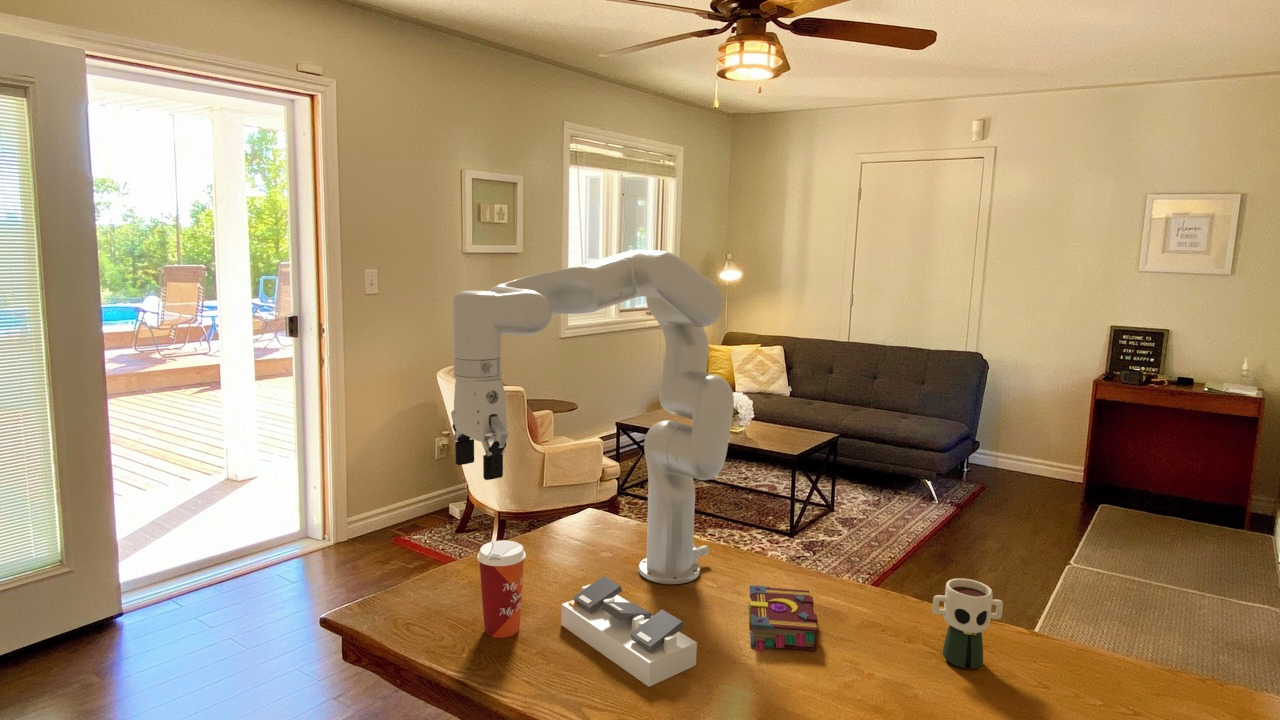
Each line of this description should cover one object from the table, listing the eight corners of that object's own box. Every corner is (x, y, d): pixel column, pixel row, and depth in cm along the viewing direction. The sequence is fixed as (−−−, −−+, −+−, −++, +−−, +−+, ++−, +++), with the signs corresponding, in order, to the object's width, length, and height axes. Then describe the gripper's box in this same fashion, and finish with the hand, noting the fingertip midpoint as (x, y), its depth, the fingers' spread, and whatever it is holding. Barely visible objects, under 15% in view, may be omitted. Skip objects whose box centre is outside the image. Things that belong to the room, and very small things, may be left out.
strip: (596, 602, 147) (597, 571, 146) (696, 665, 126) (697, 629, 125) (552, 618, 140) (552, 586, 139) (648, 686, 120) (649, 649, 119)
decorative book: (809, 611, 146) (810, 586, 145) (818, 657, 130) (820, 630, 129) (747, 607, 147) (749, 582, 146) (749, 652, 131) (751, 624, 130)
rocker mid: (631, 610, 135) (633, 601, 136) (650, 622, 132) (652, 613, 132) (600, 610, 131) (602, 600, 131) (619, 622, 127) (622, 612, 127)
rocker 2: (663, 616, 129) (661, 608, 129) (684, 628, 125) (682, 621, 125) (631, 641, 125) (629, 633, 125) (652, 654, 121) (650, 646, 121)
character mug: (933, 669, 126) (939, 594, 124) (923, 647, 133) (929, 575, 131) (1003, 676, 125) (1011, 600, 123) (990, 652, 132) (997, 580, 130)
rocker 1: (605, 582, 141) (603, 574, 141) (622, 592, 137) (620, 585, 137) (574, 603, 138) (572, 596, 137) (592, 615, 134) (589, 607, 133)
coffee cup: (516, 644, 131) (515, 560, 129) (470, 638, 133) (469, 555, 131) (532, 620, 139) (532, 541, 137) (489, 615, 141) (488, 536, 139)
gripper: (526, 374, 121) (525, 480, 124) (473, 358, 134) (474, 455, 137) (482, 378, 116) (483, 489, 119) (432, 362, 130) (434, 462, 132)
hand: (478, 470), depth 128 cm, fingers open, 9 cm apart
